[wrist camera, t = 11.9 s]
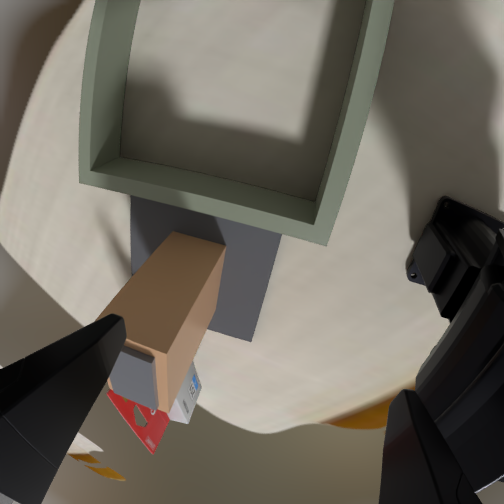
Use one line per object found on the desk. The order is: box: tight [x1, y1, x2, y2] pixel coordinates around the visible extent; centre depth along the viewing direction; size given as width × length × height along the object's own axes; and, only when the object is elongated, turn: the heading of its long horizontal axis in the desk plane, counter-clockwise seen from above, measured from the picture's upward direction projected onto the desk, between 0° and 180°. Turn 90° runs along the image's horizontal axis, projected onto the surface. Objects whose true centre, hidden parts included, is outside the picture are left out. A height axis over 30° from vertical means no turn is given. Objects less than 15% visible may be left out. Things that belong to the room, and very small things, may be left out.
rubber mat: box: [131, 195, 282, 342], centre depth 23 cm, size 11×11×1 cm
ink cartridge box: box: [106, 361, 201, 454], centre depth 25 cm, size 2×11×10 cm, turn 5°
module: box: [95, 231, 226, 413], centre depth 19 cm, size 4×6×10 cm, turn 169°
